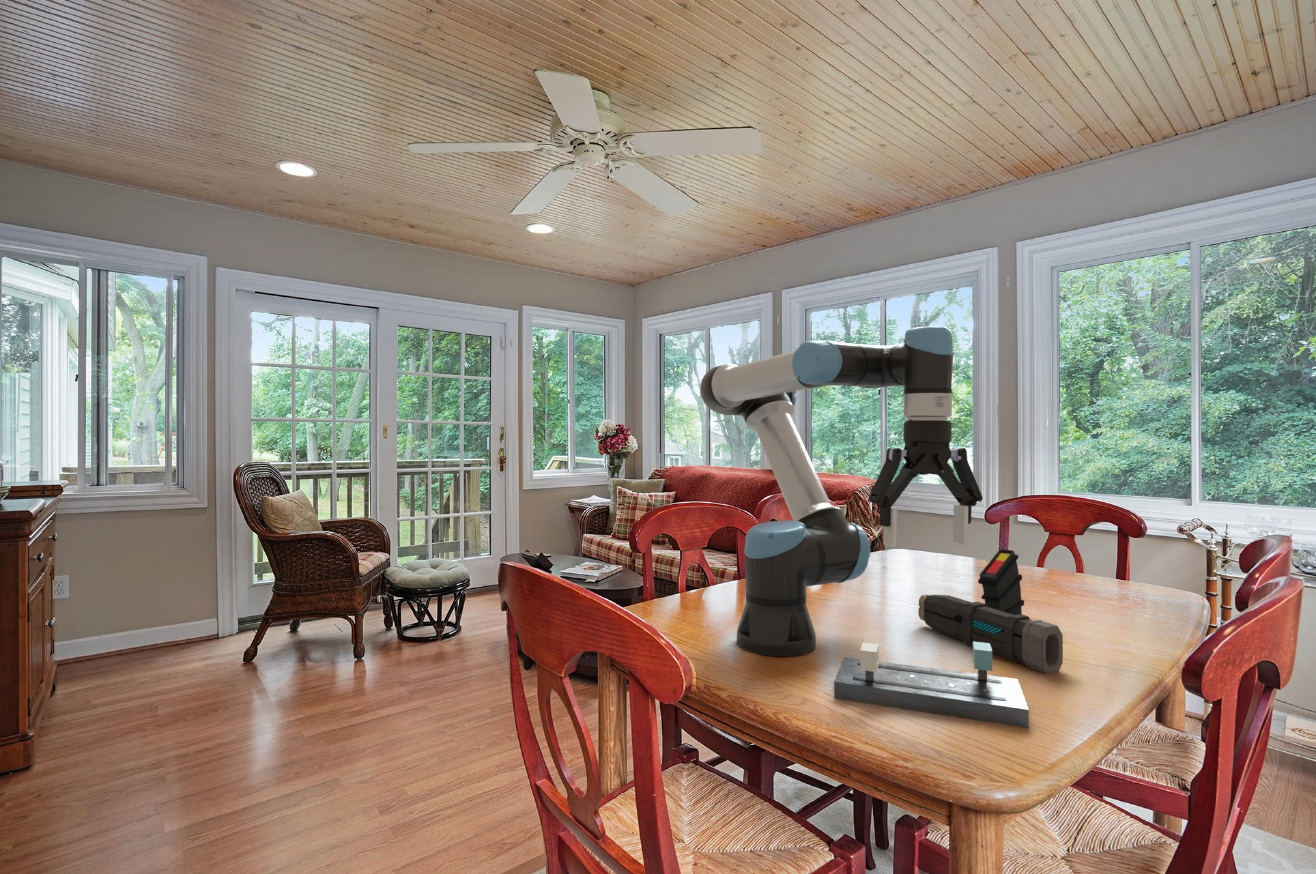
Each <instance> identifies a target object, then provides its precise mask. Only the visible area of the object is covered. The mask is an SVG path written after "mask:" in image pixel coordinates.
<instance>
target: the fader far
mask: <svg viewBox="0 0 1316 874" xmlns="http://www.w3.org/2000/svg"><path fill="white" fill-rule="evenodd" d="M972 662H973V666H974V667H973V668H974V670H977V674H978V679H982V680H987V675H988V671H989V672H993V652H992V649H991V646H990V643H982V642H973V647H972Z"/></svg>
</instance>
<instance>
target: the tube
mask: <svg viewBox="0 0 1316 874" xmlns="http://www.w3.org/2000/svg"><path fill="white" fill-rule="evenodd" d="M918 606H919V607H918V618H919V619H920V620H921V621H924V623H925V624H926V625H927V626H928V627H930V628H932V629H933V630H935V631H936V632H938V633H940V634H943V635H945V636H948V637H951V638H954V639H957V640H958V641H962V642H964V643H965V644H966V645H967V646H969V647H972V648H973V642H982V643H990V646H991V649H992V654H993V653H994V654H996V655H998V656H1002V657H1003V658H1006V659H1007V660H1008V661H1009V662H1012V663H1015V664H1019V663H1021V664H1022V665H1024V666H1026V667H1027V668H1029V669H1032V670H1033V671H1037V672H1039V673H1042V674H1045V675H1050V674H1055V673H1059V671H1060V670H1061V667H1062V665H1063V663H1064V658H1063V657H1064V651H1063V650H1064V646H1063V645H1064V644H1063V643H1064V641H1063V640H1064V638H1063V633H1062V631H1061V629H1060V627H1059V626H1058V625H1057V624H1053V623H1051V622H1047V621H1043V620H1040V619H1035V620H1032V619H1031V618H1030V617H1029V616H1028V615H1024V614H1018V615H1013V614H1010V613H1006V612H1003V611H1000V610H996V609H993V608H989V607H988V606H987V605H986V604H985V602H981V601H969V600H966V599H962V598H959V597H956V596H952V595H946V594H922V595H920V597H919V600H918Z"/></svg>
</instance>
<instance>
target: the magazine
mask: <svg viewBox="0 0 1316 874" xmlns="http://www.w3.org/2000/svg"><path fill="white" fill-rule="evenodd" d="M1018 559H1019V555H1018V554H1016V553H1015V550H1012V549H1011V550H1010V549H1003V548H1000V549H999V550H998V551H997V552H996V553H995V554H994V556H993V557H992V558H991V559H990V561H989V562H988V563H987V564H986V565H985V567H984V568H983V569H982V571H981V572H980V573H979V578H978V579H977V582H978V584H980V585H981V587H982V589H983V590H982V591H983V594H982V595H981V597H980V598H981V599H982V600H984V604H986V605H987V606H988V607H989V608H993V609H996V610H1000V611H1003V612H1006V613H1010V614H1013V615H1018V614H1022V613H1023V612H1022V610H1023V609H1022V607H1023V606H1025V600H1024V599H1022V590H1021V589H1022V588H1021V581H1022V579H1023V576H1022V574H1021V573H1019V566H1018V562H1017V560H1018ZM1022 615H1023V614H1022Z"/></svg>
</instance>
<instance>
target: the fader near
mask: <svg viewBox="0 0 1316 874" xmlns="http://www.w3.org/2000/svg"><path fill="white" fill-rule="evenodd" d="M879 645H880V644H878V643H870V642H862V644H861V645H860V649H859V659H860V670H865V680H870V681H874V672H877V669H878V665H879V661H880V658H879V657H880V656H879V655H880V654H879V653H880V651H879V650H880V649H879V648H880V646H879Z"/></svg>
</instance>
